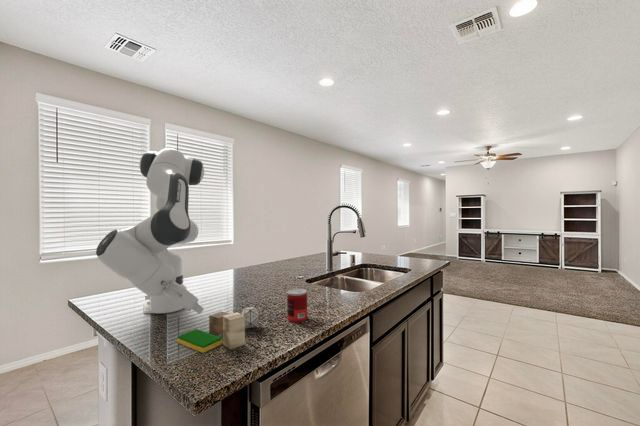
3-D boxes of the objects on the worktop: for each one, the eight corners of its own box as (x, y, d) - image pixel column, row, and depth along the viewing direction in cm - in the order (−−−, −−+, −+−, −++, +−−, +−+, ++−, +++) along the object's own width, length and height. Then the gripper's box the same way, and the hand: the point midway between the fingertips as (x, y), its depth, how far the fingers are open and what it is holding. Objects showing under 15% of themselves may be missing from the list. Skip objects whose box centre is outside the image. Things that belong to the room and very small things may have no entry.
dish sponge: (203, 354, 87) (202, 346, 87) (176, 343, 95) (176, 336, 95) (222, 345, 93) (222, 337, 93) (196, 335, 101) (196, 328, 101)
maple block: (223, 344, 93) (222, 316, 93) (237, 339, 96) (237, 312, 96) (230, 349, 89) (229, 320, 89) (245, 344, 93) (244, 316, 93)
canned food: (310, 316, 117) (309, 289, 116) (302, 324, 109) (302, 294, 109) (292, 314, 119) (292, 287, 119) (284, 321, 111) (283, 293, 111)
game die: (252, 340, 104) (254, 324, 98) (232, 330, 106) (232, 313, 100) (265, 320, 111) (267, 304, 105) (245, 311, 113) (246, 295, 107)
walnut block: (209, 332, 102) (209, 315, 102) (221, 327, 107) (220, 311, 107) (218, 335, 100) (218, 318, 100) (230, 330, 104) (230, 313, 104)
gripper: (178, 275, 72) (217, 305, 79) (156, 264, 87) (190, 291, 94) (158, 297, 69) (200, 327, 76) (139, 282, 84) (176, 308, 91)
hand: (195, 307), depth 85 cm, fingers open, 8 cm apart
